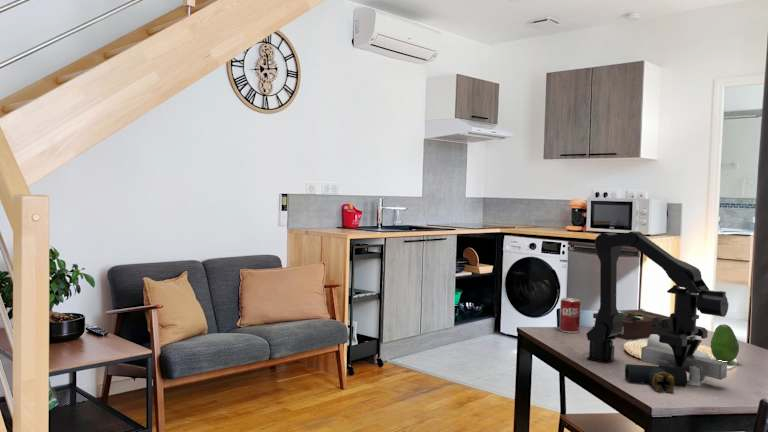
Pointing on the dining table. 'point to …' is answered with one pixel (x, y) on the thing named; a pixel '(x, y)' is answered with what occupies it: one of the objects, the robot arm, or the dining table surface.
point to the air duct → (685, 362)
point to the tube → (654, 342)
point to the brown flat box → (637, 324)
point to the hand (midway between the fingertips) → (682, 365)
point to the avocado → (724, 343)
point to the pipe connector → (656, 376)
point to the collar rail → (689, 374)
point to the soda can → (570, 315)
